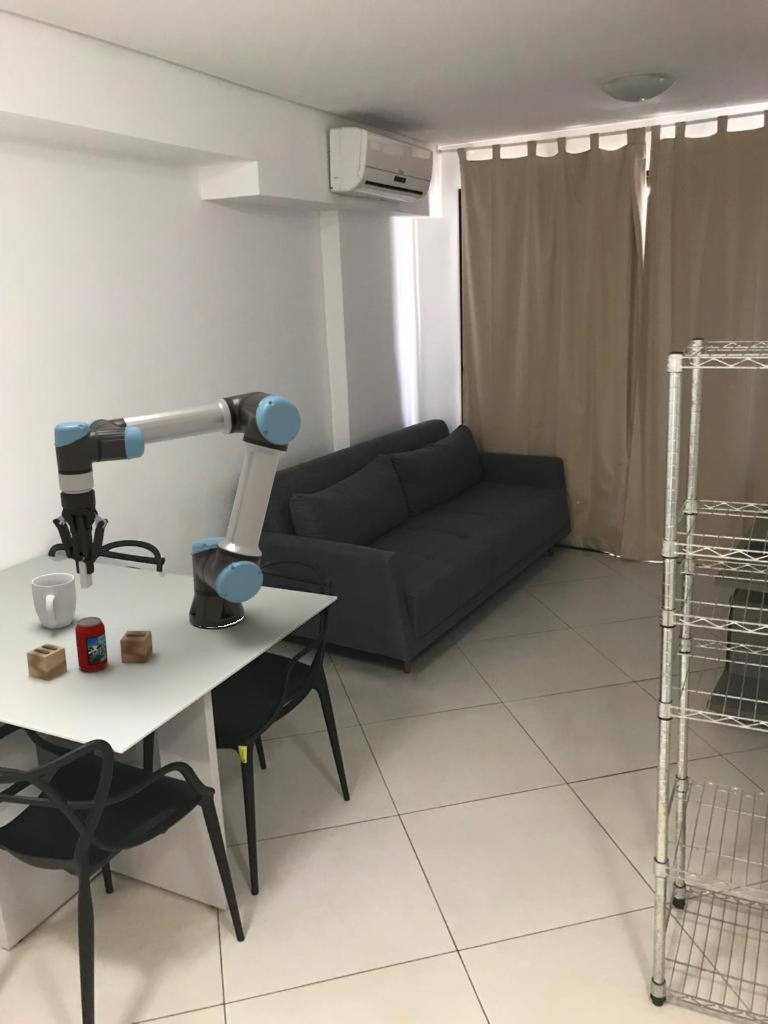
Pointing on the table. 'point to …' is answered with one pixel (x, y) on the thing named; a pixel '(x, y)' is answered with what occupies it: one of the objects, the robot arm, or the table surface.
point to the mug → (54, 599)
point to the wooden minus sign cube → (136, 646)
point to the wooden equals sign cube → (46, 661)
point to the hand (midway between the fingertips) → (87, 586)
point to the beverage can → (91, 644)
